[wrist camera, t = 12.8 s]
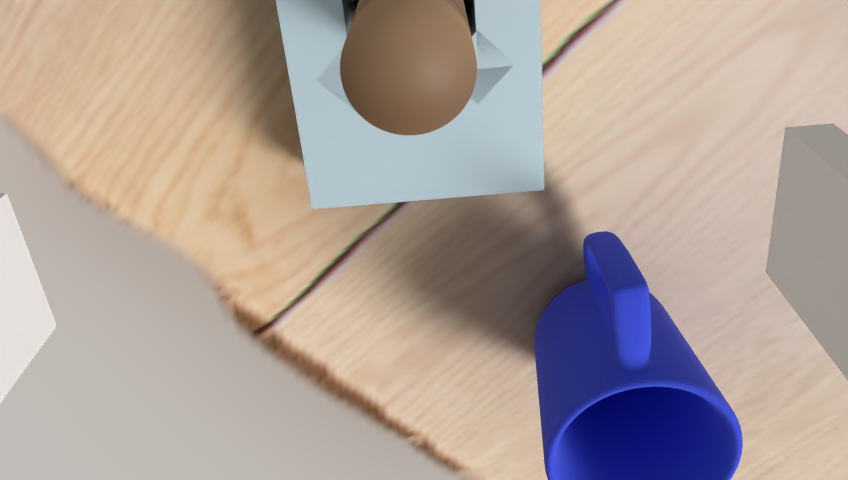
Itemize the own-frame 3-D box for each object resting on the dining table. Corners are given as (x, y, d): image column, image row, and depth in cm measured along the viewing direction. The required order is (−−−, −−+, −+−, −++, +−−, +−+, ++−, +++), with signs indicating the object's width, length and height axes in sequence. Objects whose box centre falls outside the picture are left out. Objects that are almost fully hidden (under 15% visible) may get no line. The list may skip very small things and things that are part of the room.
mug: (672, 175, 37) (749, 284, 29) (676, 374, 43) (742, 516, 34) (501, 201, 38) (525, 315, 29) (527, 394, 44) (554, 539, 35)
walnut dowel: (359, -55, 32) (330, 7, 22) (455, -65, 32) (472, -6, 22) (371, 41, 34) (349, 140, 24) (462, 32, 34) (480, 129, 24)
